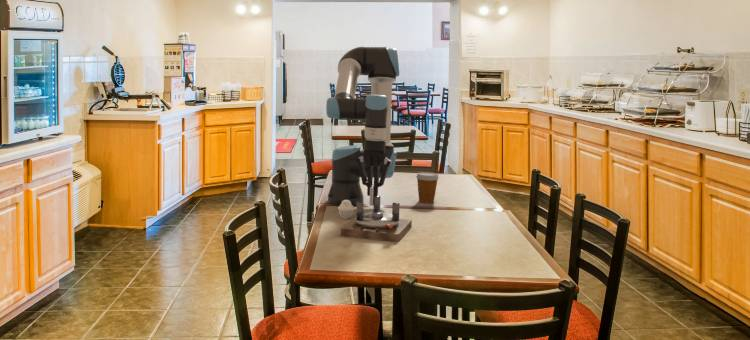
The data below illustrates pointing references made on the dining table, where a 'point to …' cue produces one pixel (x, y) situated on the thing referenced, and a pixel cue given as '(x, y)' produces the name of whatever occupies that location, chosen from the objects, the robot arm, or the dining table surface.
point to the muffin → (346, 209)
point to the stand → (376, 231)
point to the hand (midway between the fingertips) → (372, 204)
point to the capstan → (377, 216)
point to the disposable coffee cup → (427, 186)
